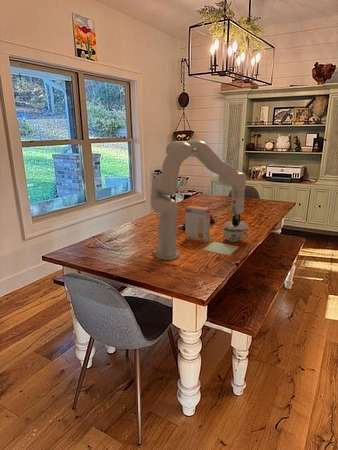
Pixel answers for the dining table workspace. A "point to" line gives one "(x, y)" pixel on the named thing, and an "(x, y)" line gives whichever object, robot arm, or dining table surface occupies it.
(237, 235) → the teacup
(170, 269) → the dining table surface
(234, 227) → the lid
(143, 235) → the dining table surface
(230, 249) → the mat
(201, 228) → the cracker box
